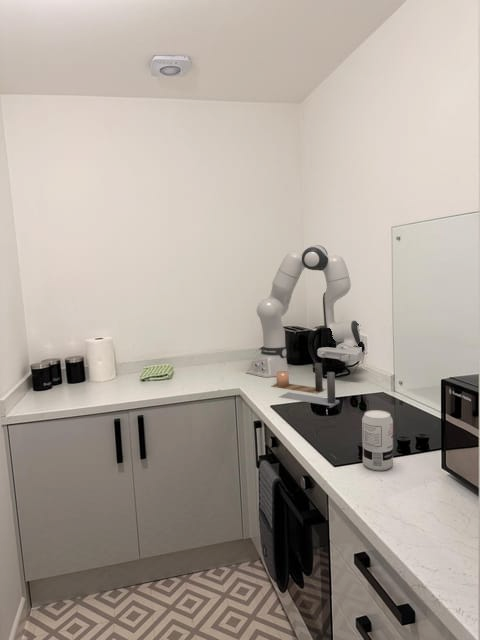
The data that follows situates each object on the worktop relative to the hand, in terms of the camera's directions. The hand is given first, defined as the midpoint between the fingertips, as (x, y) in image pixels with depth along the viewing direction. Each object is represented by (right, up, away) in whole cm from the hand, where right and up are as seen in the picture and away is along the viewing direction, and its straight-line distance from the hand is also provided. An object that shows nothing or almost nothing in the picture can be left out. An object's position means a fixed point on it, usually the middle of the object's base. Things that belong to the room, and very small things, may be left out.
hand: (331, 357), depth 219 cm
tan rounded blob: (-22, -13, +2) cm, 25 cm away
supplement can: (-2, -25, -81) cm, 85 cm away
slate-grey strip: (-13, -17, -19) cm, 28 cm away
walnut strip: (-15, -14, -2) cm, 21 cm away
